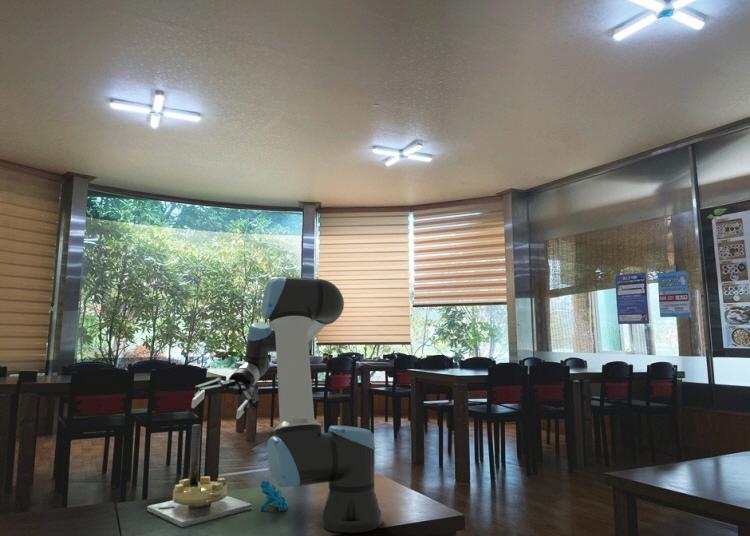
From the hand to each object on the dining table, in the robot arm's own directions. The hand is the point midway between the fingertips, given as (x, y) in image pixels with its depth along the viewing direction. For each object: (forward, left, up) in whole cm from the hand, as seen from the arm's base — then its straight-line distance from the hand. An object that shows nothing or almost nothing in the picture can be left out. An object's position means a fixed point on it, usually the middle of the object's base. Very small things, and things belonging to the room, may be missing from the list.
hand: (215, 409), depth 144 cm
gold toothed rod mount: (+1, +3, -23) cm, 24 cm away
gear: (-14, -11, -27) cm, 32 cm away
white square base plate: (+1, +3, -26) cm, 27 cm away
